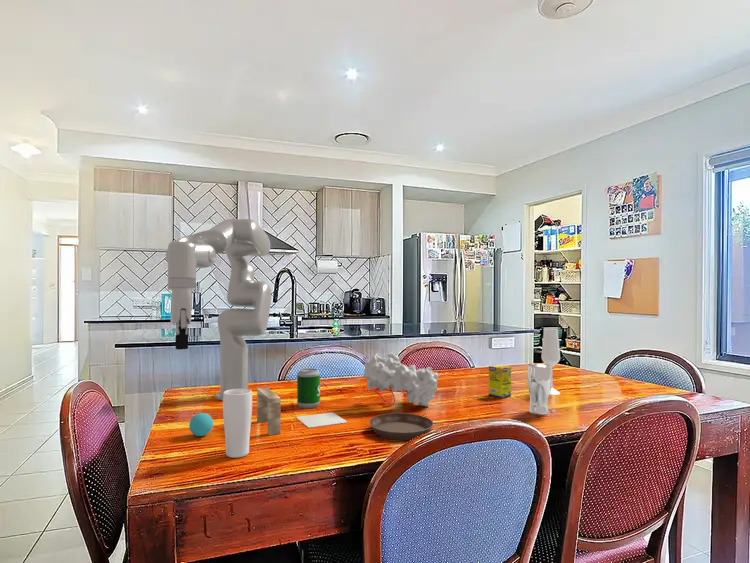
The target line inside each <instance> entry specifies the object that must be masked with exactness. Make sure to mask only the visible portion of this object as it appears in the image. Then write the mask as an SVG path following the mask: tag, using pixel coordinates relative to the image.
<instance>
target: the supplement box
mask: <svg viewBox="0 0 750 563" xmlns="http://www.w3.org/2000/svg"><path fill="white" fill-rule="evenodd" d="M488 396H489V397H493V398H496V399H504V398H508V397H509V398H510V397H511V396H512V366H510V365H504V364H495V365H494V364H493V365H489V366H488Z"/></svg>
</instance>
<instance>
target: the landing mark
mask: <svg viewBox="0 0 750 563" xmlns="http://www.w3.org/2000/svg"><path fill="white" fill-rule="evenodd" d="M295 418H296V419H297V420H298V421H299V422H301V423H302V424H303V425H305V426H306V427H307V428H308V429H314V428H320V427H327V426H333V425H334V426H336V425H340V424H341V423H342V424H348V423H349V421H347V420H345V418H342V417H341V416H340V415H338V414H336V413H335V412H326V413H317V414H316V413H315V414H310V415H301V416H296V417H295ZM342 424H341V425H342Z"/></svg>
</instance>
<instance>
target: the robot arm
mask: <svg viewBox="0 0 750 563" xmlns="http://www.w3.org/2000/svg"><path fill="white" fill-rule="evenodd" d="M271 247H272V246H271V241H270V238H269V235H268V234H267V233H266V232H265V230H264V229H263V228H262V226H261V225H260V224H259V223H258V222H257V221H255V220H253V219H250V218H231V219H230V218H229V219H224V220H222V221H220V222H218V223H217V224H215V225H214V226H212V227H211V228H209V229H207V230H202V231H199V232H196V233H192V234H189V235H185V236H183V237H180V238H178V239H175V241H170V243H168V246H167V249H166V250H165V251H166V252H165V259H166V262H167V290H169V291H171V295H170V323H171V324H172V325H173V326H175V327H176V328H175V332H176V333H175V339H174V340H175V345H174V347H175V350H188V349H189V334H188V331H189V330H188V326H189V325H190V324H192V310H193V309H192V308H193V307H192V305H193V304H192V303H193V302H192V298H193V295H192V294H193V293H192V292H193V291H194V290H196V289H197V269H205V268H210V267H212V266H213V265H214V264H215V262H216V260H217V254H222V253H224V252H225V254H226V257H227V258H228V261H229V265H230V277H229V281H228V282H229V283H228V288H227V293H226V294H227V295H226V301H227V303H228V304H229V305H230V306H231V307H236V308H228V309H224V310H222V311H221V312H220V313H219V315H218V317H217V328H218V333H219V340H220V341H219V342H220V343H219V344H220V346H219V348H220V351H219V352H220V354H219V355H220V356H219V358H220V359H219V360H220V361H219V362H220V363H219V364H220V370H219V371H220V372H219V374H220V378H219V379H220V380H219V381H220V383H219V384H220V385H219V389H220V390H219V391H220V392H217V393H216V394H215V399H217V400H220V401H223V392H225V391H227V390H231V389H248V388H249V376H248V375H249V347H248V344H247V342H246V340H245V339H244V337H245V336H246V337H247V336H248V337H249V336H250V337H253V336H254V337H255V336H256V337H257V336H262V335H264V334H265V333H266V331H267V328H268V322H269V317H270V311H271V303H272V289H271V287H270V285H269V284H268V282H266V281H261V280H258V281H257V280H256V281H255V280H254V279H255V268H254V266H253V265H252V264H251V262H250V261H249V260H248V259H247V257H265V256H267V255H268V254H269V253H270V251H271ZM237 307H238V308H237ZM252 308H253V309H252ZM243 336H244V337H243Z"/></svg>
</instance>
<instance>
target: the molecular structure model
mask: <svg viewBox="0 0 750 563" xmlns="http://www.w3.org/2000/svg"><path fill="white" fill-rule="evenodd" d="M386 357H387V358H388V359H387V358H386ZM386 357H381V356H379V354H378V353H376V352H375V353H373V355H372V357H371V360H370V361H369V360H366V361H365V363H364V364H363V366H364V371H363V376H362V377H363V378H364V379H365V380H367V381H366V386H367V389H368V390H373V392H375V394H377V395H378V396H379V397H380V398H381V399H382V401H381V405H382V407H381V408H387V407H391V406H394V405H395V402H396V397H395V394H394V393H405V395H406V399H407V400H408V403H409V404H412V403H413V404H415V405H419V406H422V407H426V408H427V407H428V406H429V402H431V400H434V398H435V396H434V394H435V393H436V392H437V391H438V387H437V386H438V380H439V374H438V372H435V371H433V370H432V367H431V366H430V367H429V366H427V367H426V368H424V367H423V368H416V365H415V364H410V365H409V366H407V365H406V362H405V363H402V362H400V357H399V356H397V355H394V353H393V352H388V353H387V354H386ZM380 392H385V393H387V394H388V393H389V394H390V393H391V394H392V397H389V396H386V395H384V397H385V398H388V399H391V400H393V402H392V403H390V402H389V401H387V400H386V399H385V398H384V397H383V396H382V393H380ZM383 402H384V403H385V402H386V403H388V404H389V405H385V404H384V403H383Z"/></svg>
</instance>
